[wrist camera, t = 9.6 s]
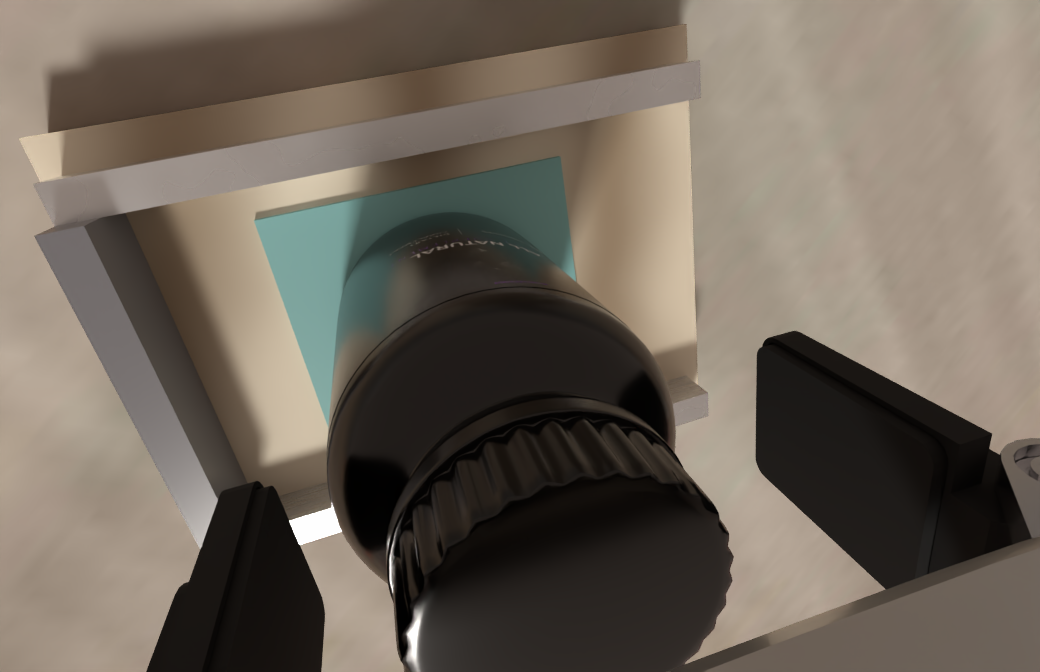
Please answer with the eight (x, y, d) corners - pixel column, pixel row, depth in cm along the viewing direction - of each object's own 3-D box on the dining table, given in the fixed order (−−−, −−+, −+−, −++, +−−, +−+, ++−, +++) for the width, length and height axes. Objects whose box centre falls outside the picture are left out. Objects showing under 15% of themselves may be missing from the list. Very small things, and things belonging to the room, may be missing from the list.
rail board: (662, 29, 19) (736, 12, 15) (679, 397, 24) (736, 448, 21) (47, 134, 15) (-44, 145, 12) (239, 531, 21) (217, 620, 18)
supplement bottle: (476, 160, 17) (705, 275, 6) (583, 330, 20) (858, 602, 9) (284, 296, 17) (178, 648, 6) (422, 445, 20) (511, 850, 9)
